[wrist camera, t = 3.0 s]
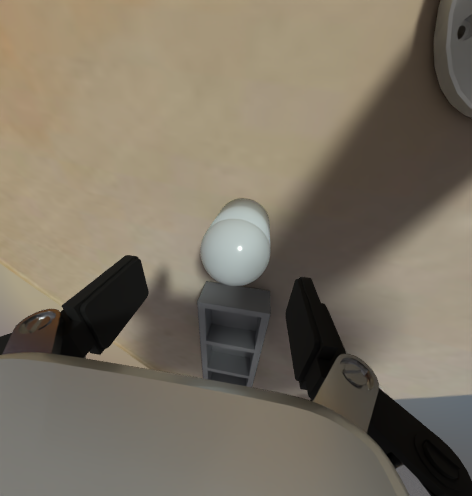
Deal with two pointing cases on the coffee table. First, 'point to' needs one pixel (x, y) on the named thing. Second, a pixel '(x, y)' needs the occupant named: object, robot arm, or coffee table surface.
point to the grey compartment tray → (232, 331)
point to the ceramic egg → (237, 243)
